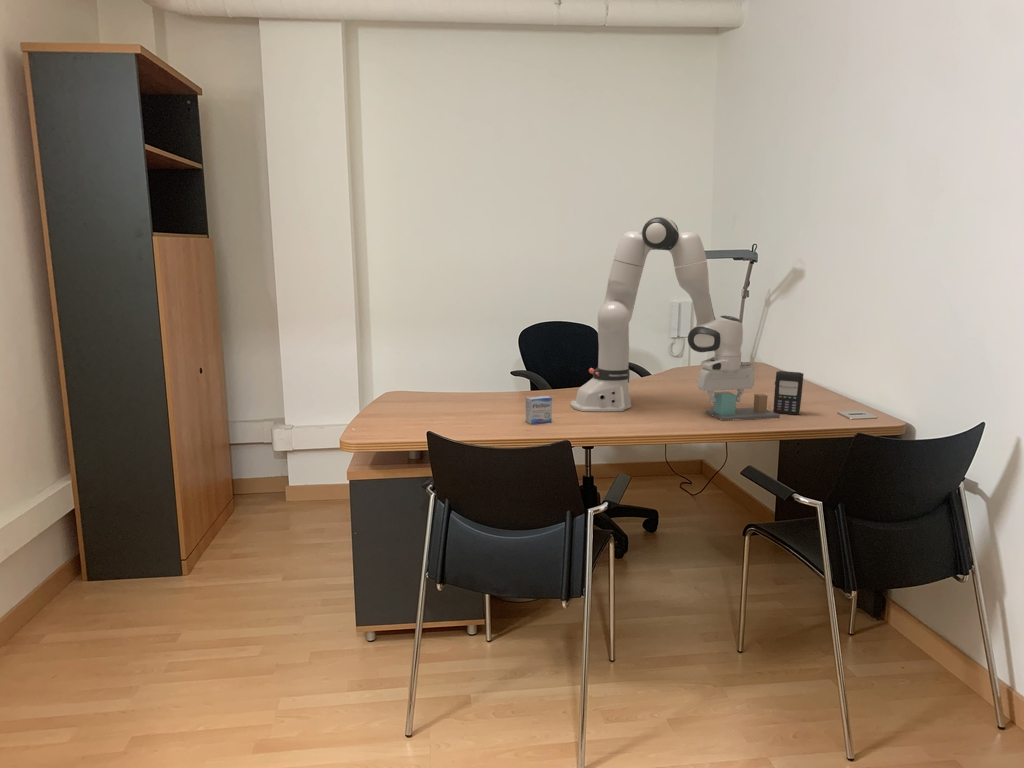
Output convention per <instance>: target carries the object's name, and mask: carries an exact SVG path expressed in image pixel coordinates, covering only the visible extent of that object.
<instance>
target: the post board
mask: <svg viewBox="0 0 1024 768" xmlns="http://www.w3.org/2000/svg"><path fill="white" fill-rule="evenodd" d="M767 406H768V395H767V394H765V393H754V397H753V406H752V407H750V406H749V407H736V408H735V415H722V416H721V415H719V414H717V413H715V412H713V409H704V410H705V412H706V413H705V414H707V413H708V414H707V415H709V414H710V415H709V416H711V415H713V416H715V417H717V418H719V419H721V420H720V421H722V420H729V421H736V420H735V419H746V420H759V419H760V420H761V419H762V420H764V419H776V418H777V419H778V418H779V419H780V413H776V412H774V411H771V410H770V409H767ZM713 416H712V417H713ZM715 417H714V418H715ZM717 418H716V419H717ZM719 419H718V420H719ZM733 419H734V420H733Z"/></svg>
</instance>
